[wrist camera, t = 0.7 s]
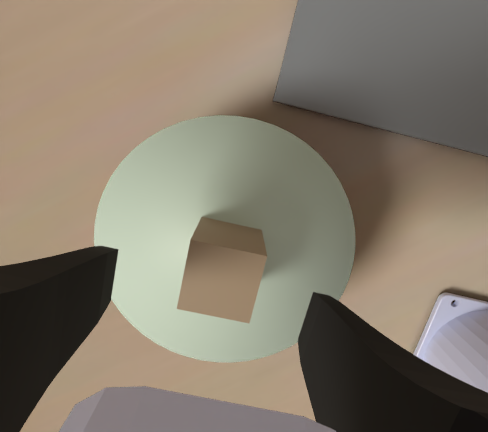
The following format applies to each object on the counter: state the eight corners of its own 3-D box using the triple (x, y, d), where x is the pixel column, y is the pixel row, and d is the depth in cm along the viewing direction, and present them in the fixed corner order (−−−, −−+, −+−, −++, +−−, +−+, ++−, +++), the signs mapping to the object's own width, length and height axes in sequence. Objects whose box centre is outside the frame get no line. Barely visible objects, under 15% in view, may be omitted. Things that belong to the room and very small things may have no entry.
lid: (384, 151, 15) (437, 157, 11) (311, 371, 19) (331, 439, 14) (118, 86, 15) (69, 67, 10) (87, 328, 18) (41, 387, 14)
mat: (647, -104, 16) (657, -110, 16) (524, 166, 19) (530, 166, 19) (348, -202, 15) (351, -211, 15) (272, 101, 18) (273, 100, 18)
